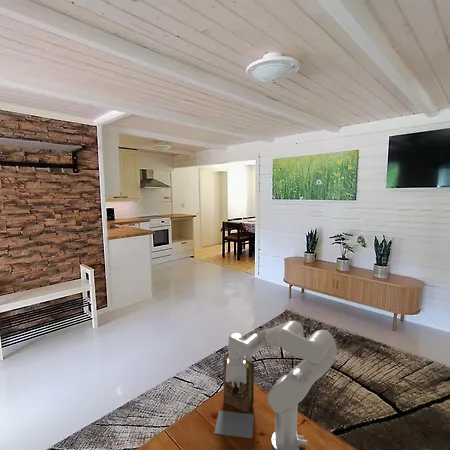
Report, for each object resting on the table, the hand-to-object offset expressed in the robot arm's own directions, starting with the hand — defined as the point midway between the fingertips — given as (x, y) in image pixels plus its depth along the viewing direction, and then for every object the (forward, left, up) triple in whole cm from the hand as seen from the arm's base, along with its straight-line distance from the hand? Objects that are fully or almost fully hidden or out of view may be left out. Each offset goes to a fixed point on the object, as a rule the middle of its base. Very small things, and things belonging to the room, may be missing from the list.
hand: (236, 393), depth 141 cm
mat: (0, +5, -13) cm, 14 cm away
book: (0, -9, -13) cm, 16 cm away
